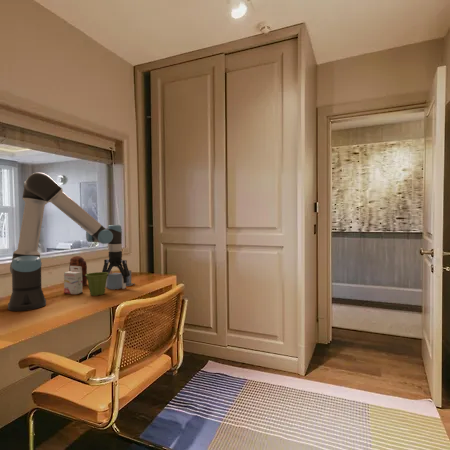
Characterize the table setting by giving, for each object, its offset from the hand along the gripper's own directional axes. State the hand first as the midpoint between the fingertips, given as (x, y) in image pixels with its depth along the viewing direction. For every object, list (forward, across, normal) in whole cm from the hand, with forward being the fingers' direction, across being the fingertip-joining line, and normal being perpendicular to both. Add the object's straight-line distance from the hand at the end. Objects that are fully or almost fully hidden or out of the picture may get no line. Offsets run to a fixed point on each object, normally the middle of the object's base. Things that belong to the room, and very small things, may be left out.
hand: (115, 287), depth 183 cm
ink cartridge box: (0, +16, +16) cm, 23 cm away
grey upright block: (0, 0, 0) cm, 0 cm away
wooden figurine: (0, +28, -1) cm, 28 cm away
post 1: (0, +9, -6) cm, 11 cm away
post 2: (0, -2, -10) cm, 10 cm away
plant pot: (0, +1, +15) cm, 15 cm away
